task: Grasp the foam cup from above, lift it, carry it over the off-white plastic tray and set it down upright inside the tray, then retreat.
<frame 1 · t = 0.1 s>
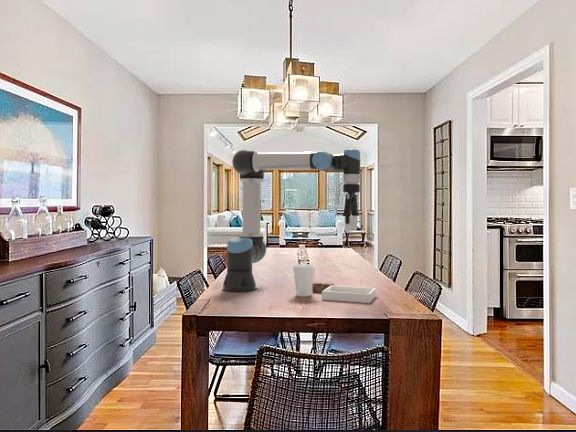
hand: (350, 230, 236), 28 cm above the table, tool pointing down, fingers open, 13 cm apart
tray: (349, 297, 221), on the table
walnut block b: (327, 292, 234), on the table
walnut block a: (317, 291, 236), on the table
foam cup: (303, 295, 226), on the table
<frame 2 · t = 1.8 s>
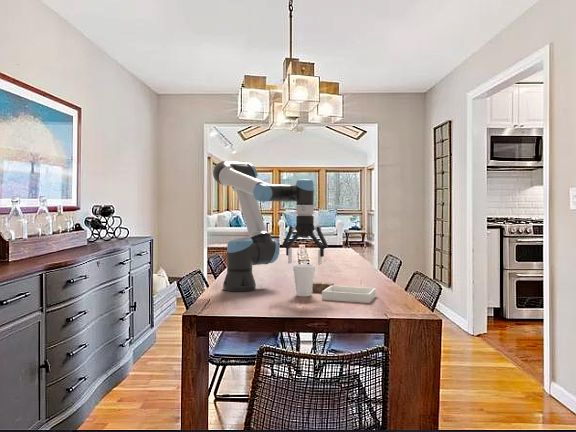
hand: (304, 263, 226), 14 cm above the table, tool pointing down, fingers open, 13 cm apart
nothing on the table moved.
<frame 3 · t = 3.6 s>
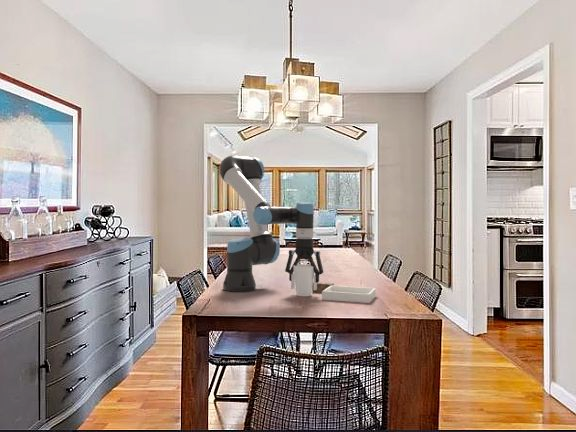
hand: (303, 289, 226), 3 cm above the table, tool pointing down, fingers closed on foam cup, 9 cm apart
foam cup: (303, 295, 226), on the table, touching gripper
everything else where it was.
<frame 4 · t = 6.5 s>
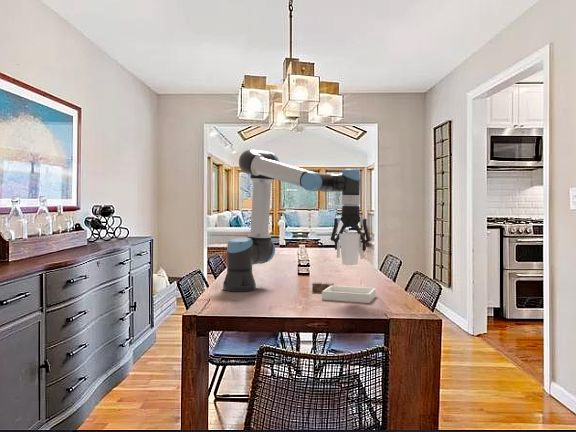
hand: (350, 258, 220), 17 cm above the table, tool pointing down, fingers closed on foam cup, 9 cm apart
foam cup: (349, 264, 220), point 14 cm above the table, touching gripper
everything else where it was.
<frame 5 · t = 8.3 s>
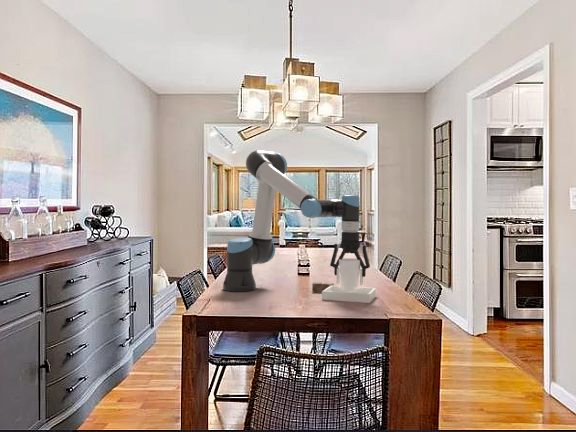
hand: (349, 283, 221), 6 cm above the table, tool pointing down, fingers closed on foam cup, 9 cm apart
foam cup: (349, 290, 221), point 3 cm above the table, touching gripper
everything else where it was.
when the fingers open (5 cm above the table, at t = 9.5 s): foam cup drops 1 cm, resting on tray.
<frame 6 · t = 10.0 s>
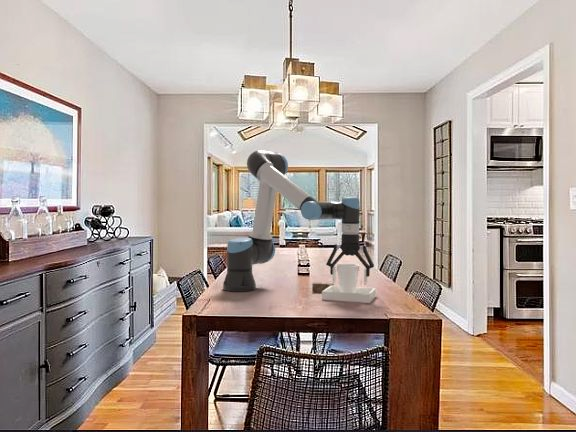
hand: (349, 283, 221), 6 cm above the table, tool pointing down, fingers open, 13 cm apart
foam cup: (347, 295, 221), point 1 cm above the table, touching tray
everything else where it was.
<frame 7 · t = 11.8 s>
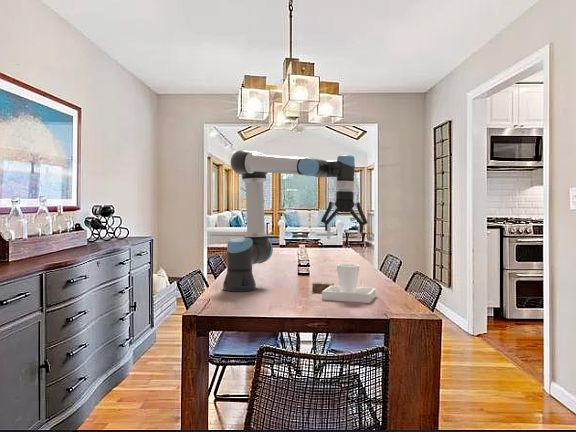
hand: (343, 239, 226), 24 cm above the table, tool pointing down, fingers open, 13 cm apart
nothing on the table moved.
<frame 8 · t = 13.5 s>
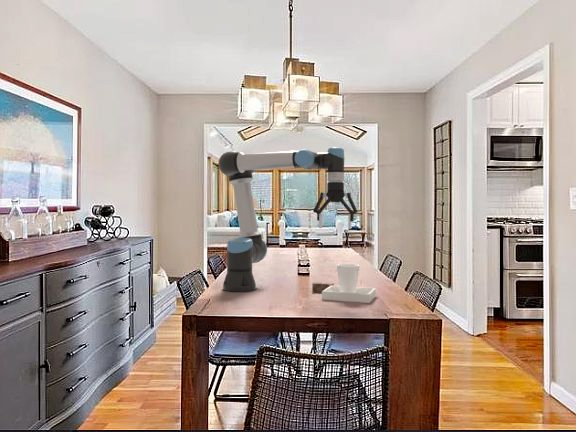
hand: (335, 228, 237), 29 cm above the table, tool pointing down, fingers open, 13 cm apart
nothing on the table moved.
at the end: foam cup inside the target area on the tray (0.7 cm from its centre), point 0.8 cm above the tray's base; foam cup tilted 0°; the gripper is holding nothing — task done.
